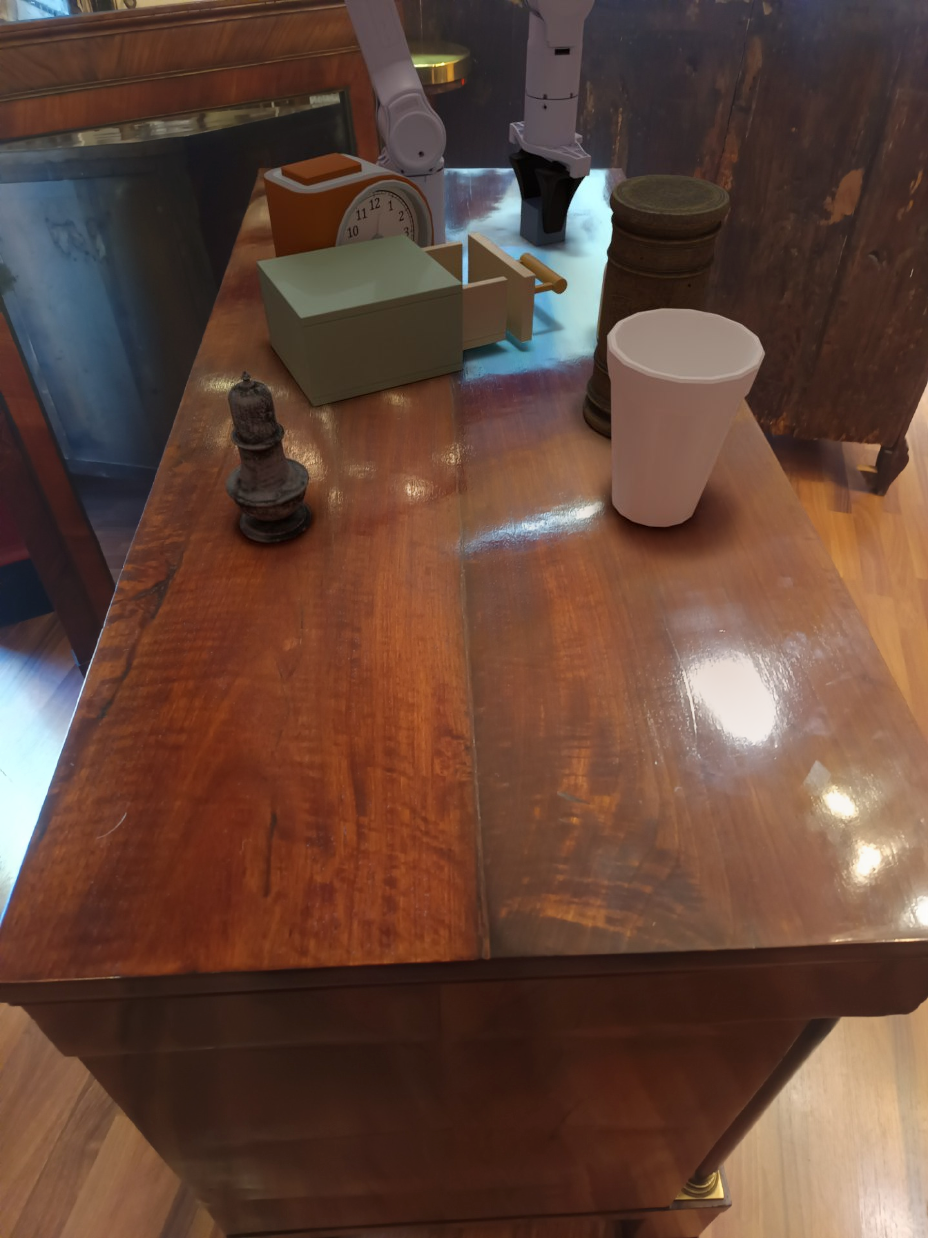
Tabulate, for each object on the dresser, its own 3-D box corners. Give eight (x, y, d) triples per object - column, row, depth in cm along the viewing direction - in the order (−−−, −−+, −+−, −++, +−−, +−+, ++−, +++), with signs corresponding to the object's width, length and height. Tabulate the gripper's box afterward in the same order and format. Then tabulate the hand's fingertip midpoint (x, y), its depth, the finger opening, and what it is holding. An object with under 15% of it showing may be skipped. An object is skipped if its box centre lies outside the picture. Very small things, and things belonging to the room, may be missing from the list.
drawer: (519, 285, 87) (522, 223, 83) (576, 329, 80) (582, 264, 75) (356, 320, 81) (350, 256, 77) (402, 372, 74) (398, 304, 70)
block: (519, 234, 99) (521, 199, 96) (548, 228, 101) (550, 193, 98) (536, 246, 97) (538, 210, 94) (565, 240, 98) (568, 204, 95)
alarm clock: (323, 335, 81) (304, 187, 71) (276, 306, 86) (252, 164, 76) (437, 292, 88) (434, 152, 78) (389, 267, 92) (380, 132, 83)
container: (686, 450, 67) (739, 219, 54) (577, 438, 68) (602, 209, 55) (688, 394, 73) (735, 174, 60) (587, 384, 74) (612, 167, 62)
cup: (740, 541, 59) (792, 374, 50) (605, 554, 58) (632, 386, 49) (693, 461, 66) (731, 302, 57) (572, 472, 65) (590, 312, 56)
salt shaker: (274, 556, 58) (241, 405, 49) (218, 524, 60) (177, 375, 52) (332, 514, 61) (310, 366, 53) (277, 486, 64) (247, 340, 55)
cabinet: (408, 314, 84) (404, 233, 78) (463, 369, 76) (463, 283, 71) (271, 345, 80) (255, 261, 74) (313, 407, 72) (300, 317, 66)
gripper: (621, 104, 85) (605, 240, 94) (549, 73, 94) (541, 200, 103) (562, 113, 82) (552, 251, 92) (494, 80, 92) (492, 209, 101)
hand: (543, 225), depth 98 cm, fingers closed on block, 4 cm apart
